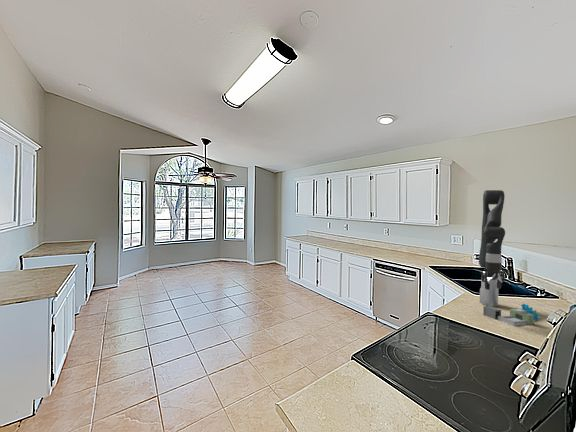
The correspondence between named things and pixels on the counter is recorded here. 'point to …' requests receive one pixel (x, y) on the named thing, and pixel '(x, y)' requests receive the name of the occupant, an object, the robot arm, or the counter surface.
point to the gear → (530, 311)
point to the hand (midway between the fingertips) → (493, 289)
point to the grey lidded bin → (491, 312)
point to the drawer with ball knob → (518, 317)
